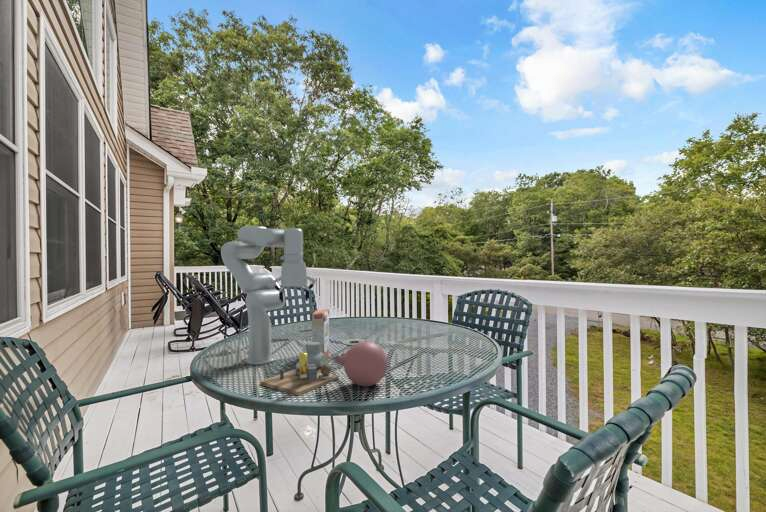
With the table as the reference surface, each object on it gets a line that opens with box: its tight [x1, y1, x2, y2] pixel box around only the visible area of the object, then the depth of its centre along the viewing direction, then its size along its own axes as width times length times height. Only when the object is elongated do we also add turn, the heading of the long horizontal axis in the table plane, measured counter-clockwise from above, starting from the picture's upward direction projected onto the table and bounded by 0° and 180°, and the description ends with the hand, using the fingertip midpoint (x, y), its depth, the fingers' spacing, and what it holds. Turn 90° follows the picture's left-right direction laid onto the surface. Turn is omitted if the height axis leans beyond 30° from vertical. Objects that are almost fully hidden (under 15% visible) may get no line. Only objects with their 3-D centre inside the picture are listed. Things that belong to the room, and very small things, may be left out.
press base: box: [259, 364, 339, 397], centre depth 137 cm, size 20×20×6 cm
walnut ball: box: [319, 363, 332, 375], centre depth 139 cm, size 4×4×4 cm
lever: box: [295, 351, 308, 378], centre depth 137 cm, size 16×4×9 cm, turn 15°
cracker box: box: [311, 308, 330, 357], centre depth 172 cm, size 14×6×21 cm, turn 179°
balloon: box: [331, 340, 388, 387], centre depth 133 cm, size 15×20×15 cm
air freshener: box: [305, 341, 327, 369], centre depth 156 cm, size 11×8×10 cm
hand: (294, 301), depth 150 cm, fingers open, 9 cm apart
